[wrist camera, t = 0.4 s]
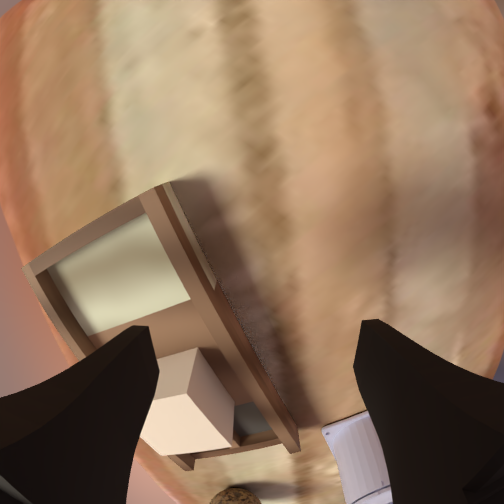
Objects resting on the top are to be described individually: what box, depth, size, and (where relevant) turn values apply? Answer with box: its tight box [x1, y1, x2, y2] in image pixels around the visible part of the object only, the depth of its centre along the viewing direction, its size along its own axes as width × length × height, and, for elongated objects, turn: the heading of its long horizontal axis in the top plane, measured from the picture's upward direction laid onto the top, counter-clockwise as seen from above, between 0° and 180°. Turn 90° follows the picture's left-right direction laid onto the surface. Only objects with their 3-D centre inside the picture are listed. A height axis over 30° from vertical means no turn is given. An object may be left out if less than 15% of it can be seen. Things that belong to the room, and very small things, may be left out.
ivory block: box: [140, 347, 235, 456], centre depth 18 cm, size 6×6×4 cm
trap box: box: [22, 182, 301, 471], centre depth 20 cm, size 24×12×3 cm, turn 23°
